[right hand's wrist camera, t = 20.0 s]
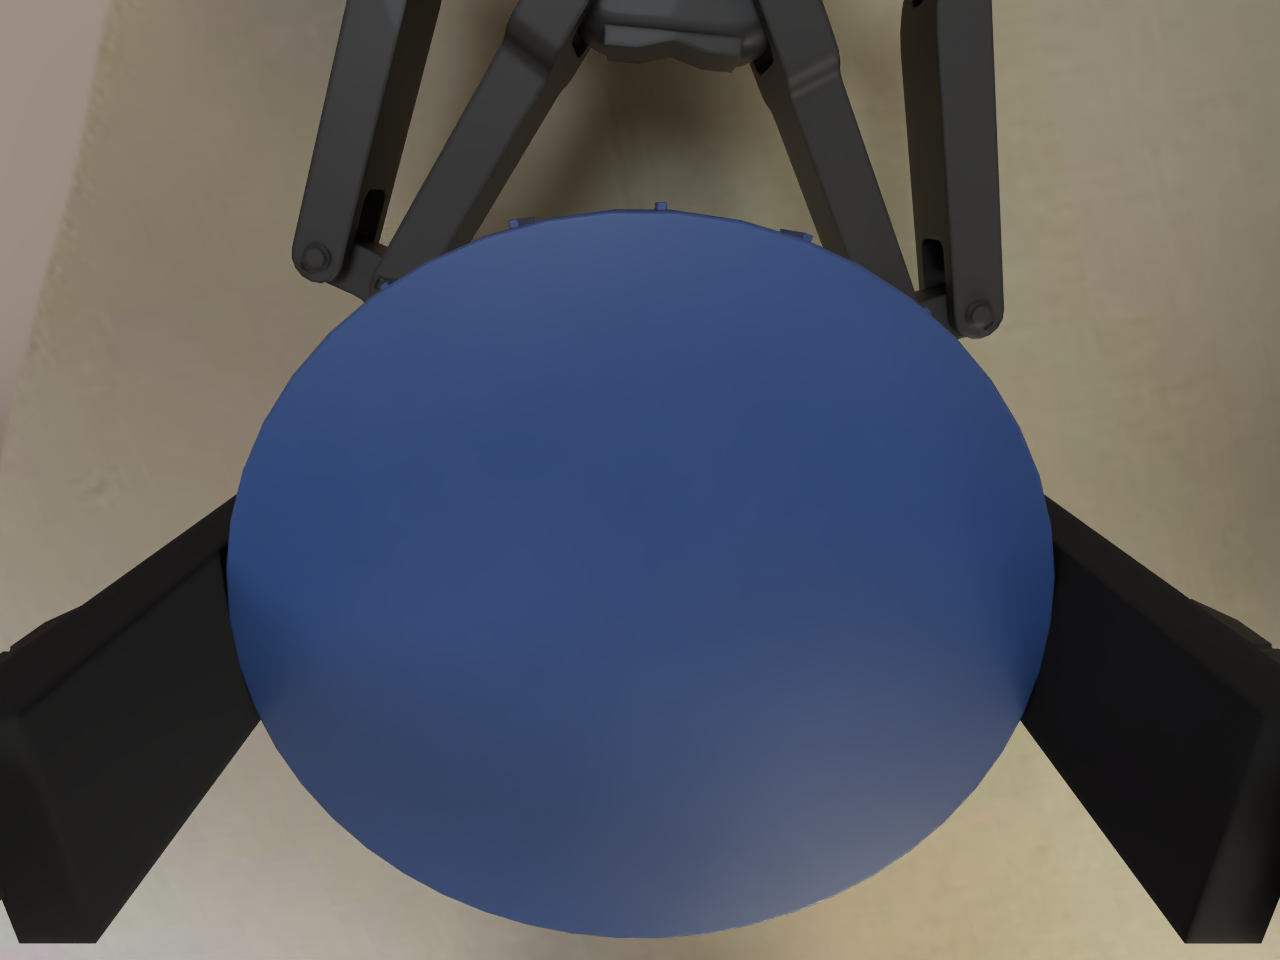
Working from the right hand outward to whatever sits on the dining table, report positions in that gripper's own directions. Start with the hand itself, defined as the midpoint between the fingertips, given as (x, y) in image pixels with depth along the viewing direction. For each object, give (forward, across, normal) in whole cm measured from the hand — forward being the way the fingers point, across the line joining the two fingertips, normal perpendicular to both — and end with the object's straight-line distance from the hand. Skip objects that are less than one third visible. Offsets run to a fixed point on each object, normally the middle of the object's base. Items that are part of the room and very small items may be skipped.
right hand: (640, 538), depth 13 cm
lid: (-3, 0, 0) cm, 3 cm away
